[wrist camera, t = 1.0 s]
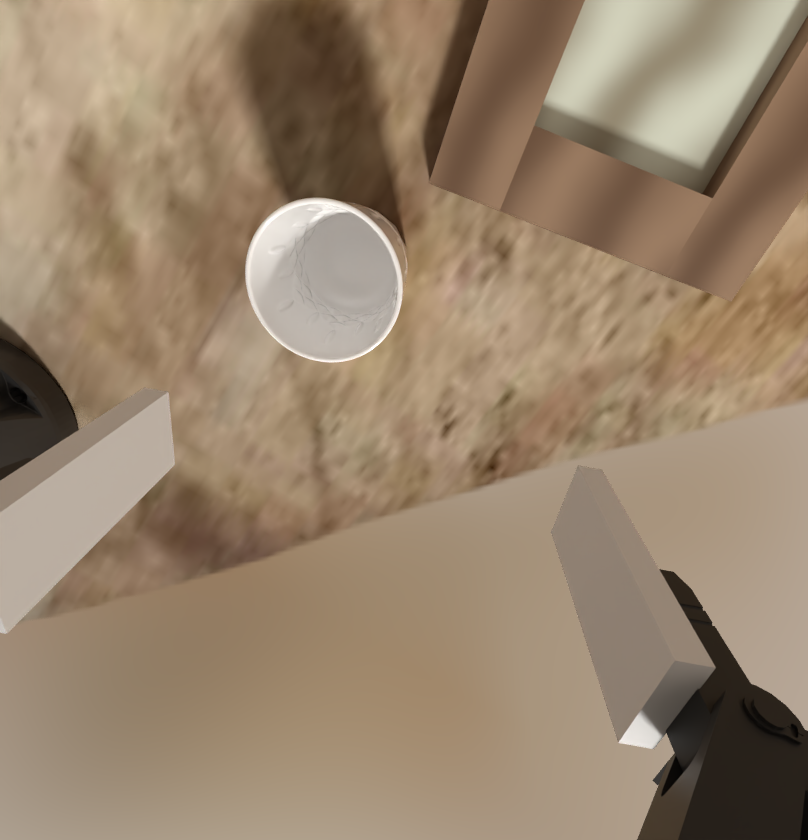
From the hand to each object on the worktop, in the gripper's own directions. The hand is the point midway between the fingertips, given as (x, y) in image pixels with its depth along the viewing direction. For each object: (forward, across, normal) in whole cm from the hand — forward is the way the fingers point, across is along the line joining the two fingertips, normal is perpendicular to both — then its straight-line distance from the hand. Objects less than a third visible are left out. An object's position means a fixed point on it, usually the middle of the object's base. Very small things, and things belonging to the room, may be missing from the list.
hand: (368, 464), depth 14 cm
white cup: (+20, -4, +3) cm, 21 cm away
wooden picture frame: (+20, +12, +17) cm, 28 cm away
